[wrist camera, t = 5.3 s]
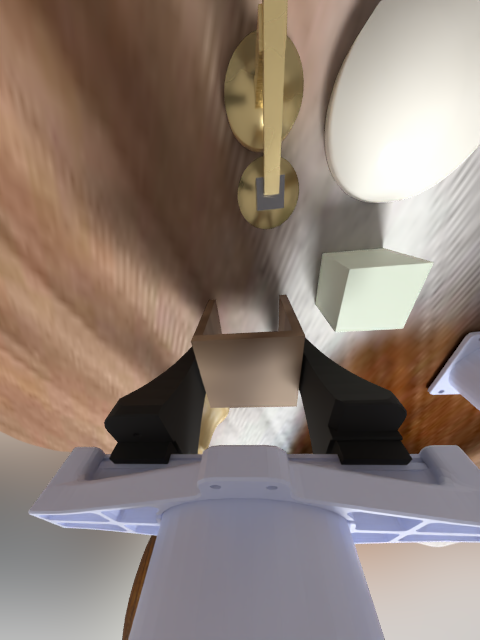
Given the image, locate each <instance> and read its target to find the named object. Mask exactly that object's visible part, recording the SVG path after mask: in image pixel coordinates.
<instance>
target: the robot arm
mask: <svg viewBox="0 0 480 640" xmlns="http://www.w3.org/2000/svg"><path fill="white" fill-rule="evenodd" d="M299 390H300V394H301V397H302V402H303V406H304V410H305V415H306V419H307V424H308V429H309V434H310V439H311V444H312V449H313V454H286V452H285V451H284V450H283V449H281V448H279V447H276V446H269V445H218V446H211V447H209V448H207V449H206V450H204V451H203V453H202V454H198V446H199V437H200V428H201V421H202V413H203V407H204V401H205V396H206V391H205V387H204V384H203V381H202V377H201V374H200V370H199V367H198V364H197V360H196V357H195V353H194V350H193V347H191V348H190V349H189V350H188V351H187V352H186V353H185V354H184V355H183V356H182V357H181V358H180V359H179V360H178V361H177V362H176V363H175V364H174V365H173V366H171V367H170V368H169V369H168V370H166V371H165V372H164V373H162V374H161V375H160V376H158V377H157V378H155V379H154V380H152V381H151V382H149V383H148V384H146V385H144V386H143V387H141V388H139V389H138V390H136V391H134V392H132V393H130V394H128V395H126V396H124V397H122V398H120V399H119V400H118V402H117V403H116V405H115V406H114V408H113V409H112V411H111V412H110V414H109V415H108V417H107V418H106V420H105V422H104V424H105V428H106V429H107V431H108V432H109V433H110V434H111V435H112V436H113V437H114V439H115V440H116V441H117V442H118V443H117V445H116V447H115V448H114V450H113V452H112V454H105V453H104V452H103V450H101V449H100V448H97V447H75V448H74V449H73V451H72V452H71V453H70V455H69V456H68V458H67V459H66V460H65V462H64V463H63V465H62V466H61V467H60V469H59V470H58V472H57V473H56V474H55V476H54V477H53V478H52V480H51V481H50V482H49V484H48V485H47V486H46V488H45V489H44V491H43V492H42V493H41V495H40V496H39V498H38V499H37V500H36V502H35V503H34V505H33V506H32V507H31V509H30V510H29V511H28V512H29V514H30V515H33V516H35V517H38V518H41V519H43V520H46V521H48V522H51V523H53V524H56V525H58V526H61V527H64V528H83V529H96V530H107V531H117V532H127V533H137V534H146V535H155V536H157V538H156V541H155V545H154V548H153V552H152V556H151V559H150V563H149V566H148V570H147V574H146V577H145V581H144V584H143V588H142V592H141V595H140V599H139V602H138V606H137V610H136V613H135V617H134V620H133V624H132V628H131V631H130V635H129V638H128V640H385V639H384V636H383V632H382V629H381V626H380V623H379V620H378V617H377V613H376V611H375V608H374V604H373V601H372V598H371V595H370V592H369V588H368V585H367V582H366V579H365V576H364V573H363V570H362V567H361V563H360V560H359V558H358V554H357V551H356V548H355V545H354V544H363V543H364V544H365V543H400V542H401V543H402V542H480V470H479V468H478V467H477V466H476V465H475V464H474V463H473V462H472V461H471V460H470V458H469V457H468V456H467V455H466V454H465V453H464V452H463V451H462V449H461V448H460V447H459V446H456V445H433V446H427V447H425V448H423V449H422V450H421V451H420V454H409V453H408V451H407V450H406V448H405V447H404V445H403V444H402V442H401V441H400V440H402V436H401V435H400V433H399V432H398V429H399V427H400V426H401V424H402V423H403V421H404V420H405V418H406V415H407V412H406V409H405V408H404V407H403V406H402V404H401V403H400V402H399V400H398V399H397V398H396V397H395V395H394V394H393V393H392V392H391V391H389V390H387V389H384V388H382V387H380V386H377V385H375V384H373V383H371V382H368V381H366V380H364V379H362V378H360V377H358V376H357V375H355V374H353V373H351V372H349V371H348V370H346V369H344V368H343V367H341V366H339V365H338V364H336V363H335V362H334V361H332V360H331V359H329V358H328V357H327V356H325V355H324V354H323V353H322V352H320V351H319V350H318V349H317V348H316V347H315V346H314V345H312V344H311V343H310V342H309V341H308V340H307V339H306V338H305V342H304V350H303V358H302V366H301V374H300V382H299ZM428 392H429V393H430V394H433V395H437V394H461V395H462V396H463V397H465V398H466V399H467V400H468V401H469V402H470V403H471V404H473V405H474V406H475V407H476V408H477V409H478V410H480V332H472V333H469V334H467V335H466V336H465V338H464V339H463V340H462V342H461V343H460V345H459V346H458V347H457V349H456V350H455V352H454V353H453V355H452V356H451V357H450V359H449V360H448V362H447V363H446V364H445V366H444V367H443V369H442V370H441V371H440V373H439V374H438V376H437V377H436V379H435V380H434V381H433V383H432V384H431V386H430V387H429V388H428Z"/></svg>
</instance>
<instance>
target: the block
mask: <svg viewBox="0 0 480 640" xmlns="http://www.w3.org/2000/svg"><path fill="white" fill-rule="evenodd" d="M433 263H434V262H430V261H427V260H423V259H420V258H416V257H413V256H409V255H406V254H402V253H399V252H395V251H392V250H388V249H385V248H377V249H365V250H354V251H343V252H331V253H322V260H321V267H320V274H319V281H318V288H317V295H316V302H315V305H316V306H317V307H318V309H319V310H320V312H321V313H322V314H323V316H324V317H325V319H326V320H327V321H328V323H329V324H330V326H331V327H332V328H333V330H334V331H335V332H349V331H368V330H387V329H403V327H404V325H405V323H406V321H407V318H408V316H409V314H410V312H411V310H412V308H413V306H414V304H415V301H416V299H417V297H418V295H419V293H420V291H421V289H422V286H423V284H424V282H425V280H426V278H427V276H428V274H429V271H430V269H431V267H432V265H433Z"/></svg>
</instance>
